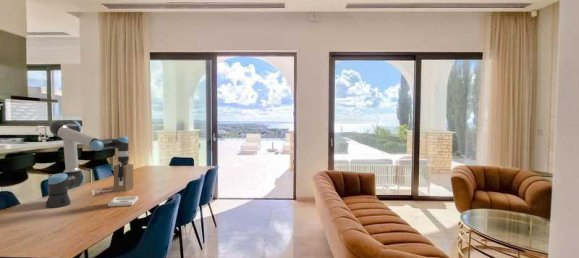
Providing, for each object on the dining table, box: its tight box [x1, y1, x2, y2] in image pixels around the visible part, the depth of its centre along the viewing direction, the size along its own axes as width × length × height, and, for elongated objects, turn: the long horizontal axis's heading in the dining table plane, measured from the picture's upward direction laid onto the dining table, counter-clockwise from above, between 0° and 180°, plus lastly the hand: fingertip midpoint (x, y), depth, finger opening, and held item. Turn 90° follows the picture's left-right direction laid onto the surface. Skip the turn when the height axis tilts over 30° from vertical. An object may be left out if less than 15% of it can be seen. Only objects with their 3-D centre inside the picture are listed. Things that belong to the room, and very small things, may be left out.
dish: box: [107, 195, 139, 208], centre depth 242 cm, size 17×17×3 cm
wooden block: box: [113, 163, 134, 193], centre depth 241 cm, size 10×10×20 cm
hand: (123, 183), depth 241 cm, fingers closed on wooden block, 11 cm apart
